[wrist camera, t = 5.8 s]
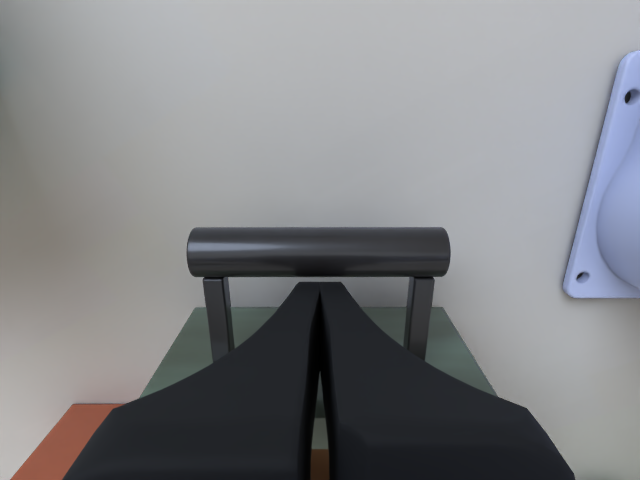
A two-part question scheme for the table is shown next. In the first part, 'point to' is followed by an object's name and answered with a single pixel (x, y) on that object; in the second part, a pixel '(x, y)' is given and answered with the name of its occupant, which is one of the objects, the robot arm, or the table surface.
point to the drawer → (318, 261)
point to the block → (64, 442)
